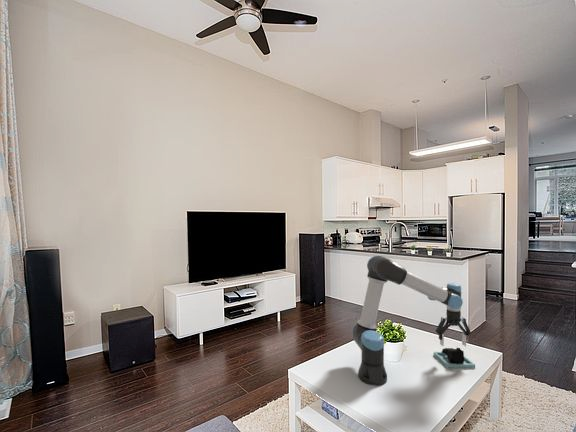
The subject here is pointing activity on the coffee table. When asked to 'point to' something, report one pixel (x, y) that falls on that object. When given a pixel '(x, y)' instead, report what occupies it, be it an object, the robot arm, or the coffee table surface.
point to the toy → (454, 355)
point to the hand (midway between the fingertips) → (452, 345)
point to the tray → (444, 360)
